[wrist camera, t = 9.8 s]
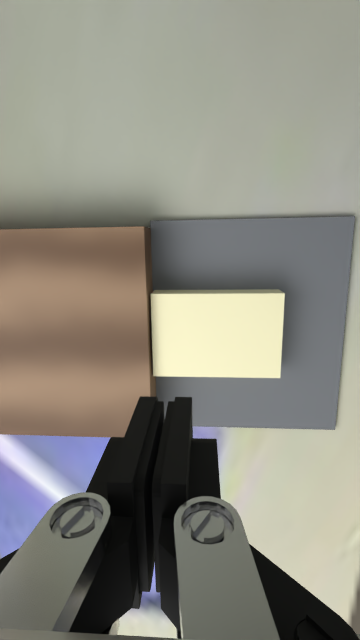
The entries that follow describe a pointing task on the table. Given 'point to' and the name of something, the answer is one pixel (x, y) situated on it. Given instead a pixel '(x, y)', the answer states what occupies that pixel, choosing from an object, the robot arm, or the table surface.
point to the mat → (298, 323)
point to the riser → (74, 329)
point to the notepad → (217, 333)
